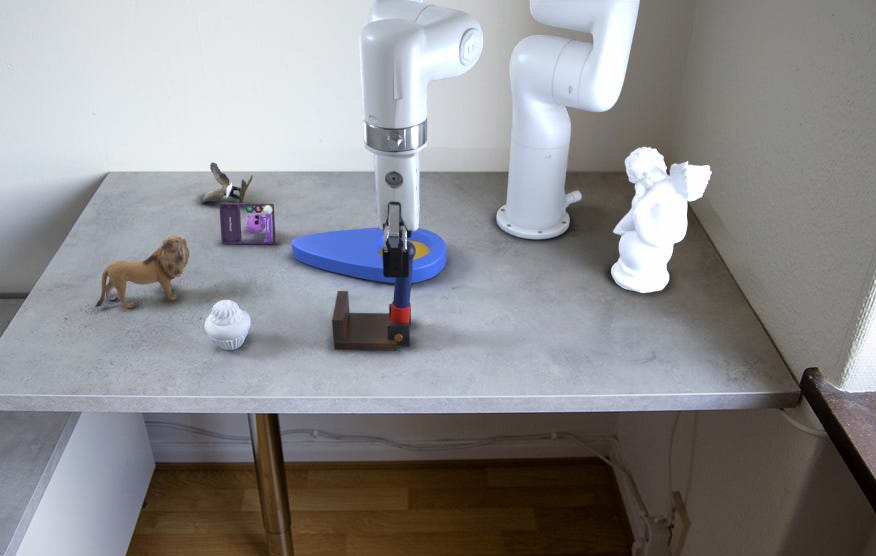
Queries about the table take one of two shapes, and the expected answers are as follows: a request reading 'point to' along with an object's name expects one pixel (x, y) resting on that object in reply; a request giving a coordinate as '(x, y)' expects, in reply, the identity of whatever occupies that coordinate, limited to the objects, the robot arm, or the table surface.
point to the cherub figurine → (654, 218)
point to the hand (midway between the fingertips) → (398, 255)
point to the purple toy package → (254, 224)
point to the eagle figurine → (224, 187)
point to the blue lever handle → (403, 293)
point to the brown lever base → (366, 328)
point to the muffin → (228, 325)
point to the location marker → (368, 253)
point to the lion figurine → (147, 271)
